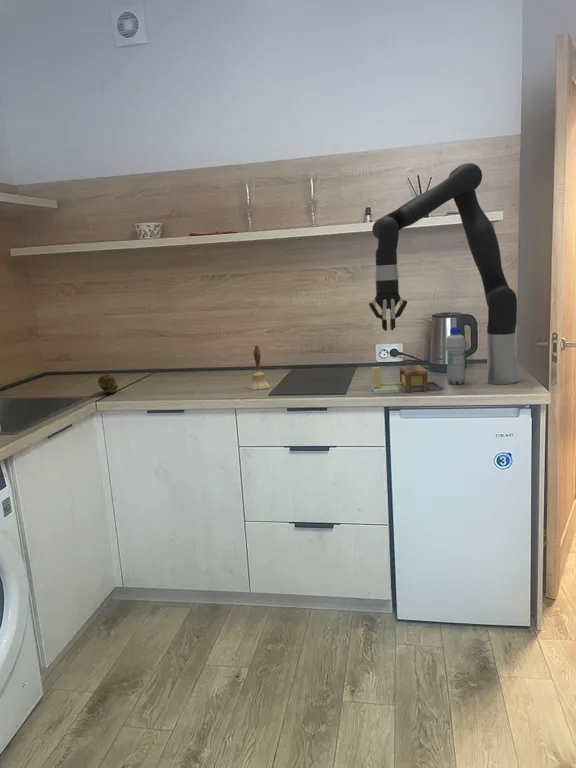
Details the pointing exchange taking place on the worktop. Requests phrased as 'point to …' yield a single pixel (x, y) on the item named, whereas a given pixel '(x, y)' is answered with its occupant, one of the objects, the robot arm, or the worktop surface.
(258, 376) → the hand bell
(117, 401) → the worktop surface
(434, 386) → the pit
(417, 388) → the track
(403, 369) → the small wooden table
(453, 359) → the bottle
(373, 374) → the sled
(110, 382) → the potato
